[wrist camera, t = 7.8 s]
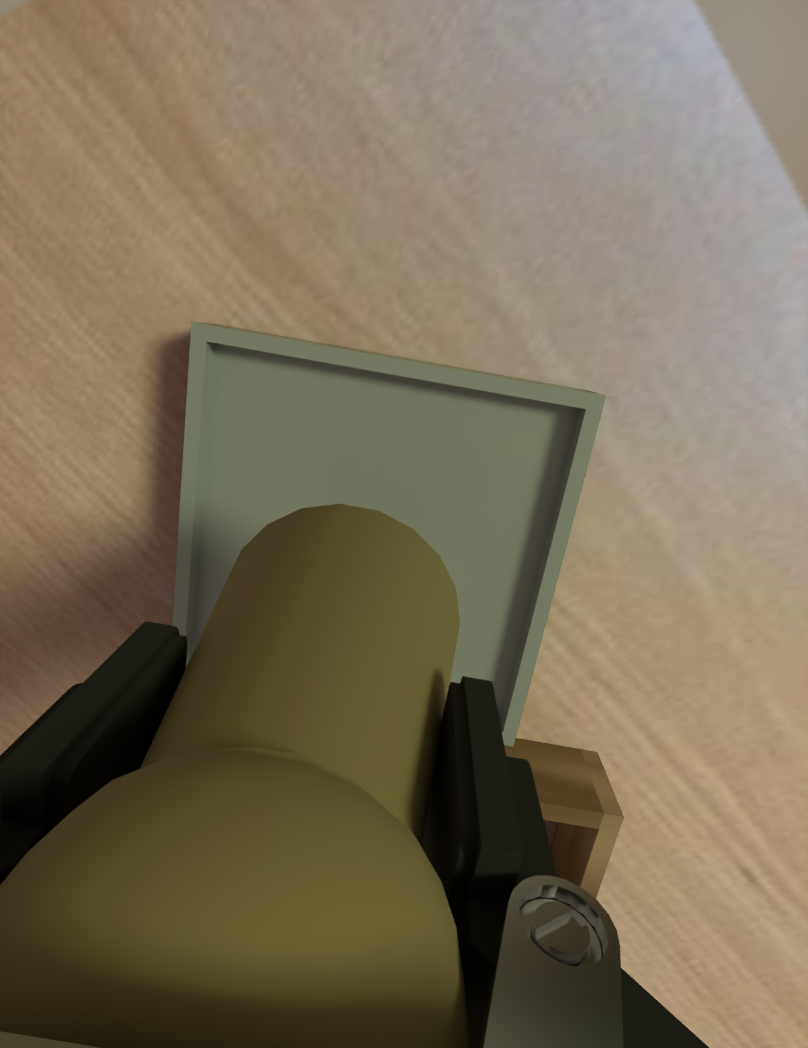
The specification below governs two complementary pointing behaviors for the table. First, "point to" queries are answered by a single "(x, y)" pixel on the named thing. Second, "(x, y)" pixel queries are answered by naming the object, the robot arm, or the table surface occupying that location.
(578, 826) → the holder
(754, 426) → the table surface
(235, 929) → the olive pawn
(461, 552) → the tray
